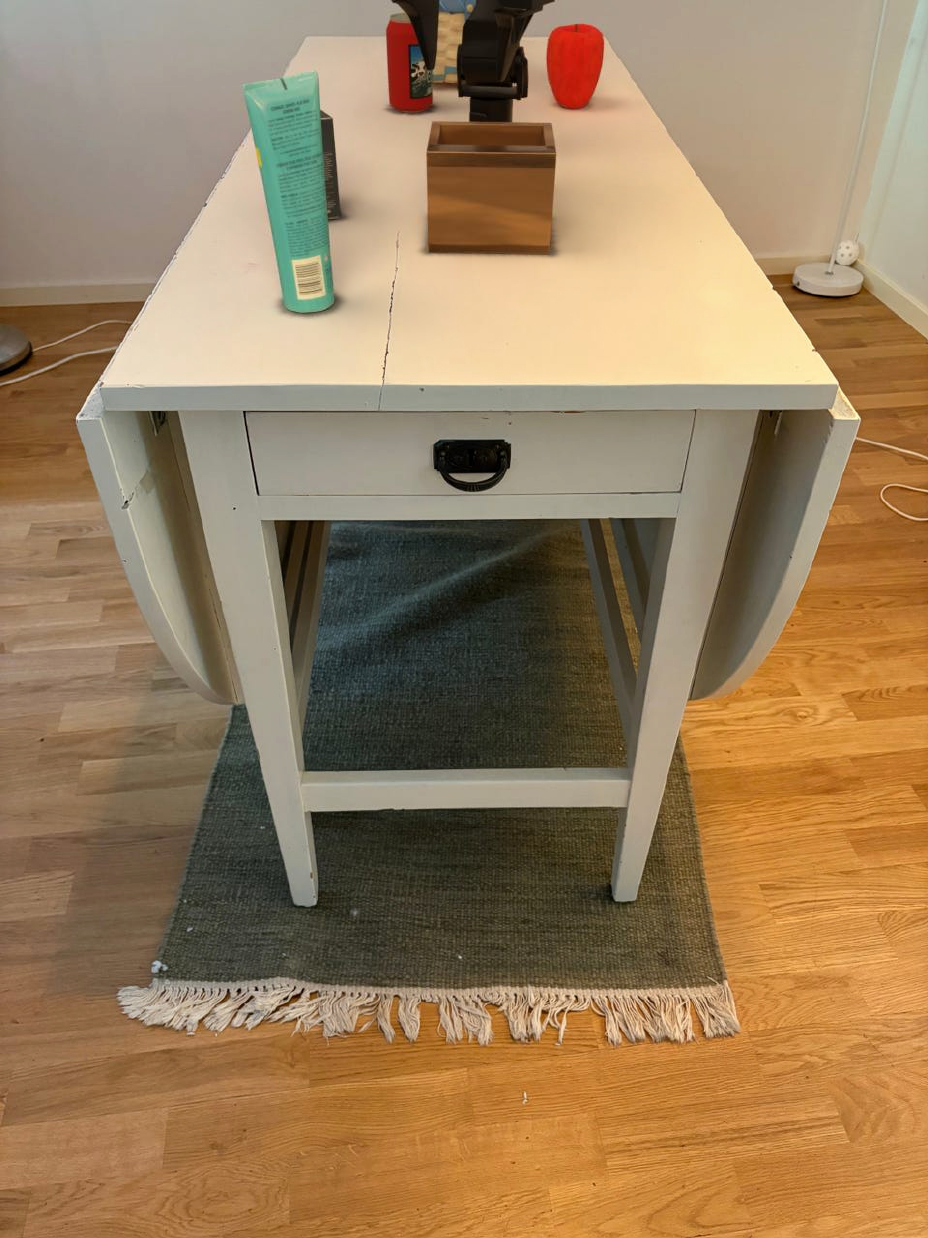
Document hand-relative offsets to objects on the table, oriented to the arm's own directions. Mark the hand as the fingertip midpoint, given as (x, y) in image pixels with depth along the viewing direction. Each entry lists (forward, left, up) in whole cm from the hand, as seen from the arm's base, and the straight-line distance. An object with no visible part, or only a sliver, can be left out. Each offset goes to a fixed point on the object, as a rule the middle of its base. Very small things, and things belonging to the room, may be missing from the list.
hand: (465, 75), depth 101 cm
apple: (-45, -8, -13) cm, 48 cm away
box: (+14, -13, -13) cm, 23 cm away
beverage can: (-30, -28, -13) cm, 43 cm away
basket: (-50, -33, -13) cm, 61 cm away
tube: (+34, +3, -13) cm, 37 cm away
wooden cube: (+9, +9, -13) cm, 18 cm away
